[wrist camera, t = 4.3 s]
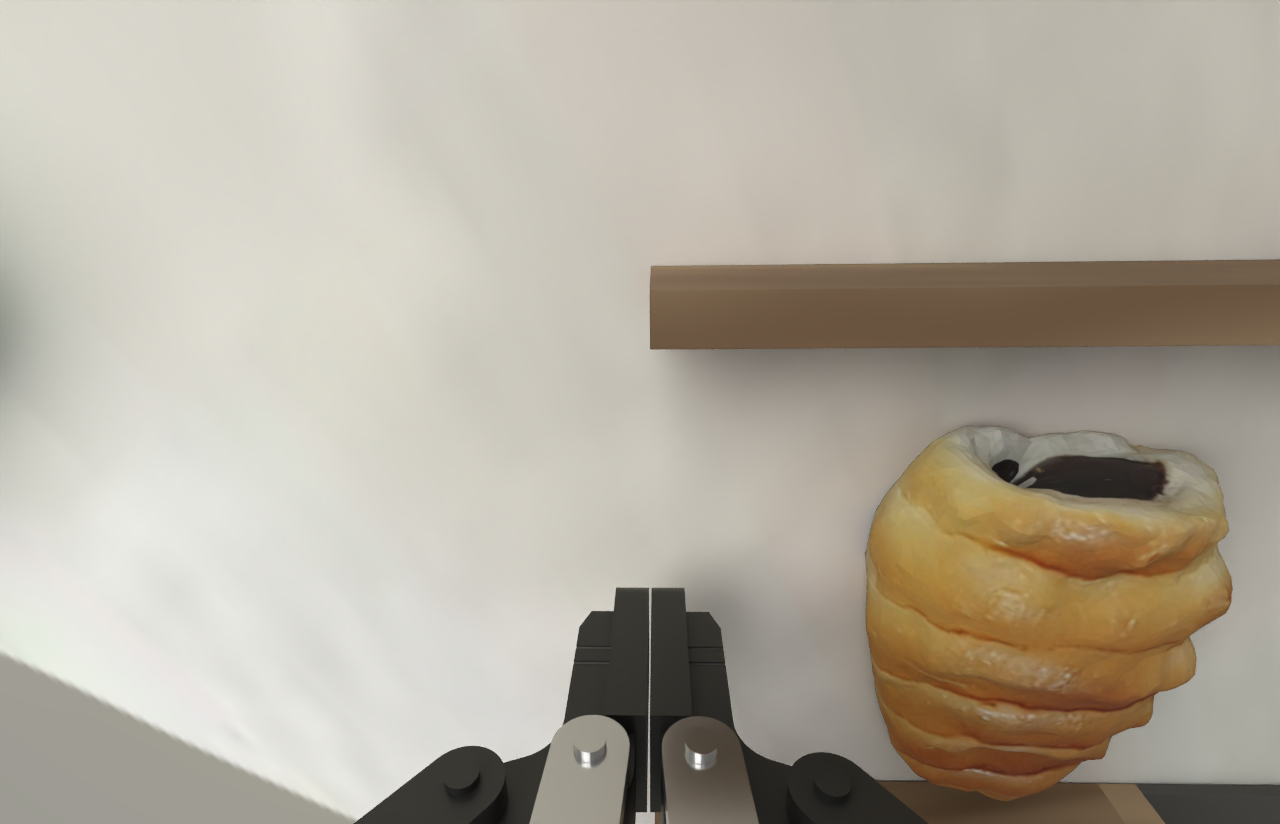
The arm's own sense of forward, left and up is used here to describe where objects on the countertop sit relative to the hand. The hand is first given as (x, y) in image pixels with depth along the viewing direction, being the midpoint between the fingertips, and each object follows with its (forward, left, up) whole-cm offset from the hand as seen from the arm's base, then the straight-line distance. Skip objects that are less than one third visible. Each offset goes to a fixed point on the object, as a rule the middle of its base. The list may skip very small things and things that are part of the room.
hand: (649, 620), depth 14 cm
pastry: (0, +8, -2) cm, 9 cm away
